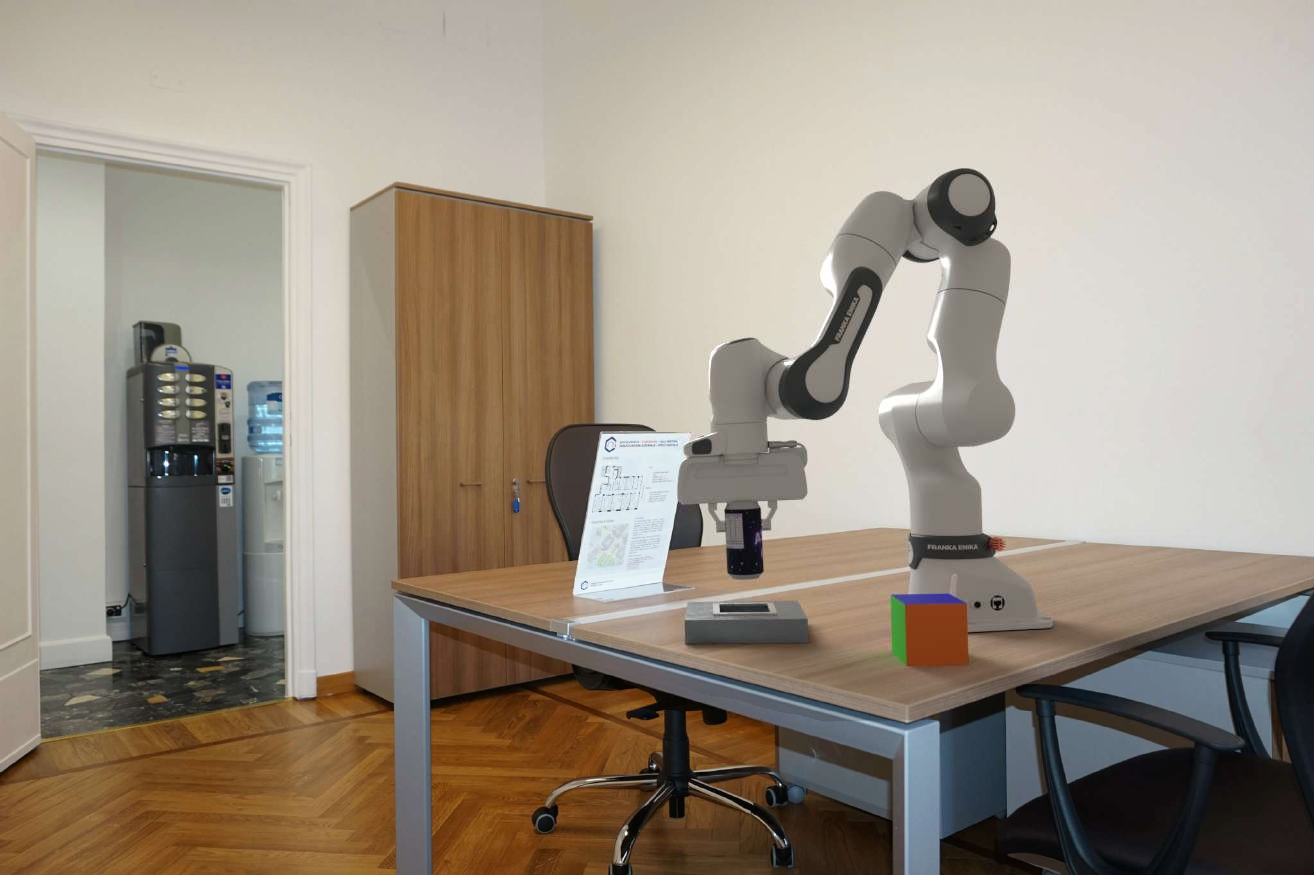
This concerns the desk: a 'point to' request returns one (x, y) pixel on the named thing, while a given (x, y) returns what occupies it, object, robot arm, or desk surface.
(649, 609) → the desk surface
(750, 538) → the beverage can
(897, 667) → the desk surface
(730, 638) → the housing
